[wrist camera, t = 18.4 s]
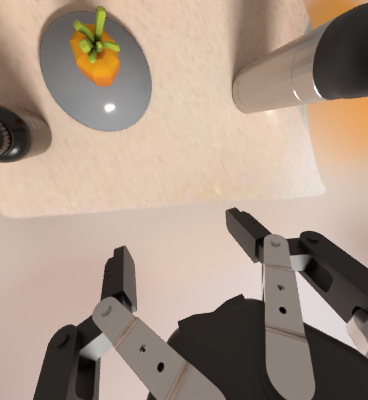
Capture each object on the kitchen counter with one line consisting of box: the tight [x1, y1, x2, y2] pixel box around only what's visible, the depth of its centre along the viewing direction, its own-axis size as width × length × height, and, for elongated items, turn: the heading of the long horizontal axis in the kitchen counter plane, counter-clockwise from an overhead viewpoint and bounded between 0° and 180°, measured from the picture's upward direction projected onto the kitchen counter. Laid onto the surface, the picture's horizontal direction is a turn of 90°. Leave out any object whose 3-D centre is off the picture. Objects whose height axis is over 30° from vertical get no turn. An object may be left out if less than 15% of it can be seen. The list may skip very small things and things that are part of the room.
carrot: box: [69, 6, 120, 87], centre depth 21 cm, size 5×5×15 cm
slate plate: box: [40, 11, 152, 132], centre depth 28 cm, size 16×16×1 cm
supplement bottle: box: [0, 104, 52, 163], centre depth 22 cm, size 7×7×12 cm
